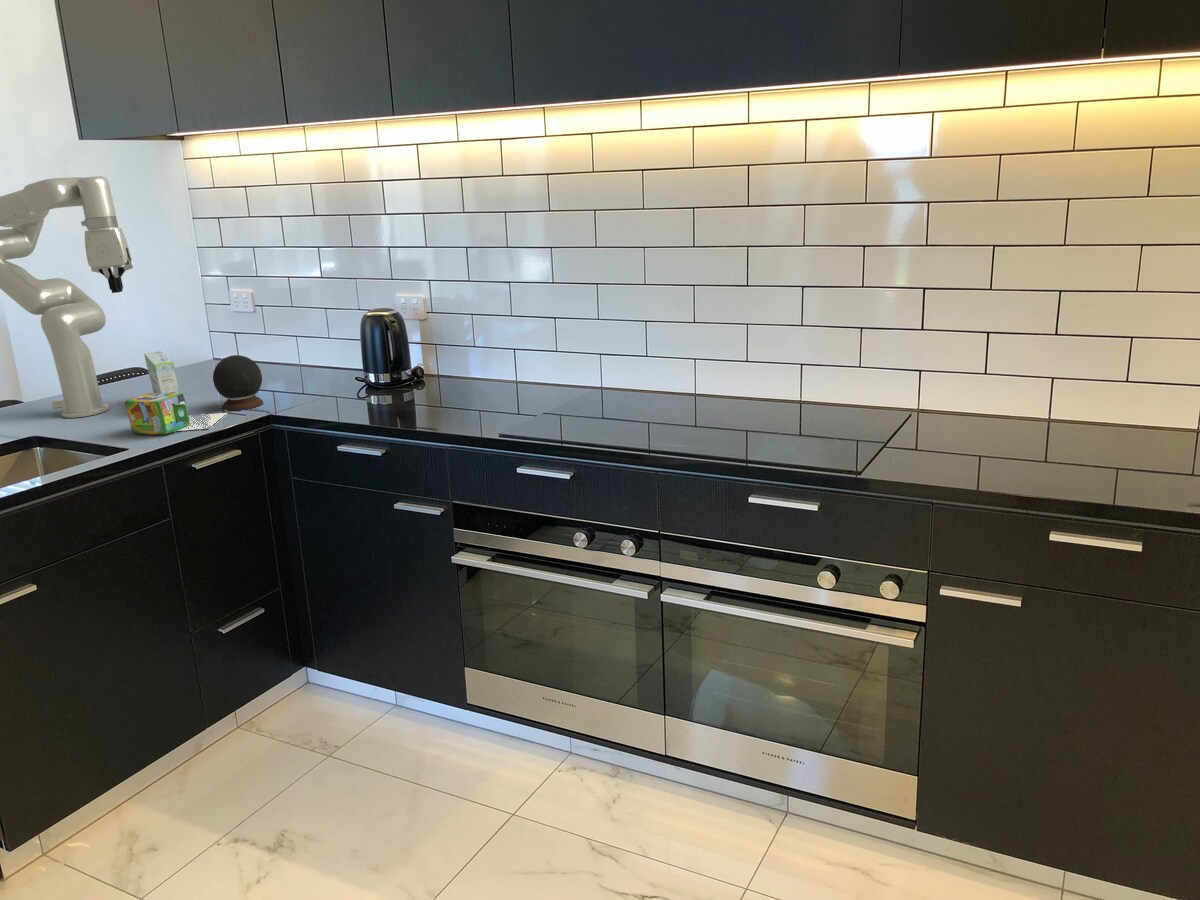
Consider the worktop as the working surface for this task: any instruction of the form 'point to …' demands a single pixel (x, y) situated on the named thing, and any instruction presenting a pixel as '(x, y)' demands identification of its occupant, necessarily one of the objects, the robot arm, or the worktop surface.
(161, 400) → the chalk box
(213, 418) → the mat
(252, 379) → the dark ball on base
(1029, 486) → the worktop surface
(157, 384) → the snack box
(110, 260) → the robot arm
